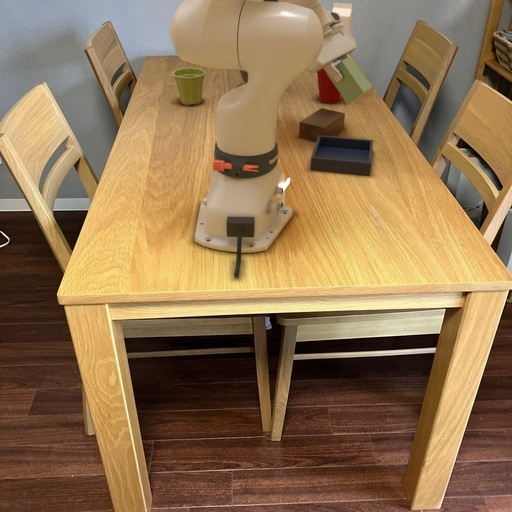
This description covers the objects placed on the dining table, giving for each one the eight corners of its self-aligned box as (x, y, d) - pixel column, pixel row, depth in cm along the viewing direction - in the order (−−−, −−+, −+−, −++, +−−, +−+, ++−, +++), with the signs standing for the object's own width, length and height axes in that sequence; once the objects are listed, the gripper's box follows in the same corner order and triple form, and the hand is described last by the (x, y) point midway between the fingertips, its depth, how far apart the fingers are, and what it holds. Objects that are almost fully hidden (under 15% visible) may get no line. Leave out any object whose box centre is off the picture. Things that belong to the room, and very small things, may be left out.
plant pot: (168, 104, 162) (165, 74, 157) (186, 94, 168) (184, 65, 163) (195, 109, 158) (193, 79, 153) (212, 99, 165) (211, 70, 160)
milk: (329, 70, 190) (334, 0, 178) (346, 72, 189) (353, 1, 176) (326, 75, 185) (331, 4, 173) (344, 77, 184) (350, 5, 171)
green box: (324, 99, 136) (327, 58, 131) (334, 94, 140) (337, 53, 134) (362, 107, 132) (366, 65, 126) (370, 101, 136) (375, 59, 130)
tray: (369, 176, 124) (371, 163, 123) (310, 170, 127) (311, 157, 125) (371, 151, 135) (373, 139, 133) (317, 146, 137) (318, 135, 136)
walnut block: (298, 137, 142) (299, 121, 140) (320, 122, 150) (321, 107, 148) (322, 143, 139) (324, 127, 137) (343, 128, 147) (345, 113, 145)
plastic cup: (355, 103, 163) (359, 62, 156) (322, 108, 160) (325, 66, 153) (337, 92, 171) (341, 52, 164) (305, 96, 168) (308, 55, 161)
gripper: (301, 27, 122) (337, 79, 124) (341, 12, 137) (373, 58, 138) (283, 45, 127) (318, 95, 128) (324, 28, 141) (355, 73, 142)
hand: (347, 76), depth 133 cm, fingers closed on green box, 5 cm apart
